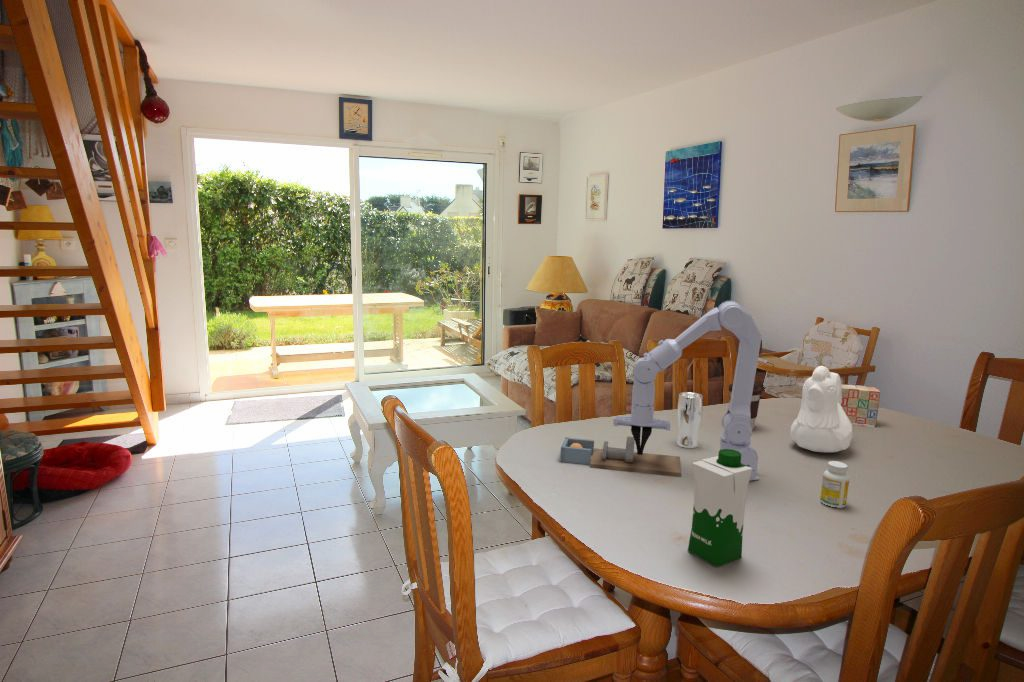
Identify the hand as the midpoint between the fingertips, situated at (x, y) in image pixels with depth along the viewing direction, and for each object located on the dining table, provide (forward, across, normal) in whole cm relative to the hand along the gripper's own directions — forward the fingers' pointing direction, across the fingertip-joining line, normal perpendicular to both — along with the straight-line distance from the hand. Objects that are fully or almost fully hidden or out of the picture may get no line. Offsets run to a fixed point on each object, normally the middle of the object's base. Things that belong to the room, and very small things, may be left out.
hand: (639, 453), depth 163 cm
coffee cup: (+3, -31, -41) cm, 52 cm away
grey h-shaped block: (+2, +6, 0) cm, 6 cm away
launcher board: (+3, +1, 0) cm, 3 cm away
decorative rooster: (+3, -52, -29) cm, 60 cm away
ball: (+1, +17, 0) cm, 17 cm away
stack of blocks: (+3, -63, -58) cm, 86 cm away
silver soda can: (+3, -13, -19) cm, 24 cm away
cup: (+3, +16, 0) cm, 16 cm away
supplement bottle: (+3, -44, +13) cm, 46 cm away
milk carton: (+3, -15, +44) cm, 47 cm away
